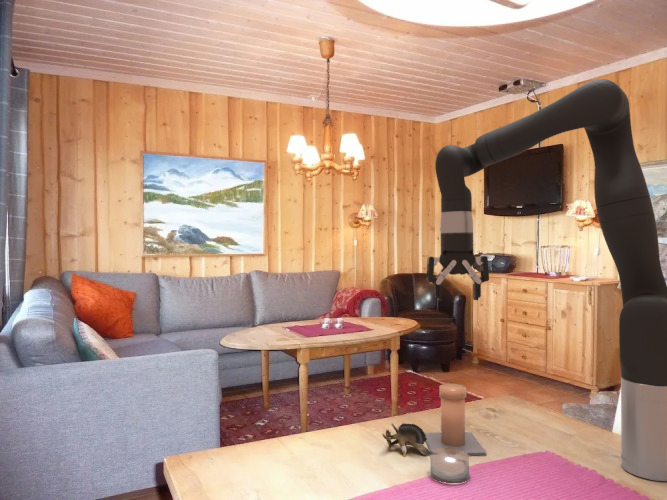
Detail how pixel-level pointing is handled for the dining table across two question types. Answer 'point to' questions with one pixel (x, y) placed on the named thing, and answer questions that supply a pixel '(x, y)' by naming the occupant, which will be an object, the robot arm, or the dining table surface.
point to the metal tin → (449, 465)
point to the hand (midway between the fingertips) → (457, 300)
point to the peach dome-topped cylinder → (452, 414)
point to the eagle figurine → (408, 438)
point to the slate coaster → (469, 447)
